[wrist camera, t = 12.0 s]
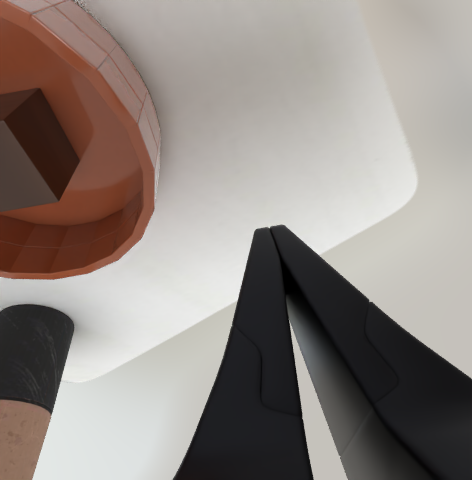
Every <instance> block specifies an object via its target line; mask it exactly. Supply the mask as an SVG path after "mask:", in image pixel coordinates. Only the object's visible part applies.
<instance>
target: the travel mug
mask: <svg viewBox="0 0 472 480" xmlns="http://www.w3.org/2000/svg"><path fill="white" fill-rule="evenodd" d="M73 331H74V324H73V322H72V320H71V319H70V318H69V317H68V316H66V315H65V314H63V313H61V312H59V311H57V310H54V309H51V308H48V307H44V306H37V305H17V306H12V307H9V308H6V309H4V310H2V311H1V312H0V480H32V478H33V474H34V472H35V468H36V465H37V462H38V458H39V455H40V452H41V449H42V445H43V442H44V439H45V435H46V432H47V429H48V426H49V422H50V419H51V415H52V412H53V408H54V404H55V401H56V397H57V393H58V389H59V385H60V382H61V378H62V374H63V370H64V366H65V363H66V359H67V355H68V351H69V347H70V344H71V340H72V336H73Z"/></svg>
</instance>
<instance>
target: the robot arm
mask: <svg viewBox="0 0 472 480" xmlns="http://www.w3.org/2000/svg"><path fill="white" fill-rule="evenodd" d="M289 320H290V323H291V325H292V328H293V331H294V333H295V336H296V339H297V342H298V344H299V347H300V350H301V353H302V355H303V358H304V361H305V363H306V366H307V369H308V371H309V374H310V377H311V380H312V382H313V385H314V388H315V391H316V393H317V396H318V399H319V402H320V404H321V407H322V410H323V413H324V415H325V418H326V421H327V423H328V426H329V429H330V432H331V434H332V437H333V440H334V443H335V445H336V448H337V451H338V453H339V455H340V456H341V457H340V459H341V462H342V465H343V467H344V470H345V473H346V476H347V478H348V480H472V379H471V378H470V377H469V376H467V375H466V374H464V373H463V372H462V371H460V370H459V369H458V368H456V367H455V366H453V365H452V364H451V363H449V362H448V361H446V360H445V359H444V358H442V357H441V356H439V355H438V354H437V353H435V352H434V351H433V350H431V349H430V348H428V347H427V346H426V345H424V344H423V343H422V342H420V341H419V340H418V339H416V338H415V337H414V336H412V335H411V334H410V333H409V332H407V331H406V330H405V329H403V328H402V327H400V325H398V324H397V323H396V322H395V321H393V320H392V319H391V318H390V317H389V316H388V315H386V314H385V313H384V312H383V311H382V310H380V309H379V308H378V307H377V306H376V305H375V304H374V303H373V302H369V299H368V298H367V297H366V296H364V295H363V294H362V293H361V292H360V291H359V290H357V289H356V288H355V287H354V286H353V285H352V284H350V282H348V281H347V280H346V279H345V278H344V277H343V276H342V275H340V274H339V273H338V272H337V271H336V270H335V269H334V268H333V267H331V266H330V265H329V264H328V263H327V262H326V261H325V260H323V259H322V258H321V257H320V256H319V255H318V254H317V253H315V252H314V251H313V250H312V249H311V248H310V247H309V246H307V245H306V244H305V243H304V242H303V241H302V240H301V239H299V238H298V237H297V236H296V235H295V234H294V233H293V232H291V231H290V230H289V229H288V228H287V227H286V226H285V225H277V226H272V227H270V229H269V228H268V227H265V228H260V229H256V230H255V232H254V236H253V240H252V244H251V248H250V252H249V256H248V260H247V265H246V269H245V273H244V277H243V281H242V285H241V289H240V293H239V297H238V302H237V306H236V310H235V314H234V318H233V322H232V327H231V330H230V334H229V338H228V342H227V345H226V349H225V352H224V356H223V359H222V362H221V365H220V368H219V371H218V374H217V377H216V380H215V382H214V385H213V387H212V390H211V392H210V395H209V398H208V400H207V403H206V405H205V408H204V411H203V413H202V416H201V418H200V421H199V423H198V426H197V429H196V431H195V434H194V436H193V439H192V441H191V443H190V446H189V448H188V450H187V453H186V455H185V457H184V459H183V461H182V463H181V465H180V467H179V469H178V471H177V473H176V475H175V476H174V478H173V480H314V479H313V474H312V469H311V464H310V459H309V454H308V448H307V442H306V436H305V430H304V423H303V419H302V409H301V401H300V395H299V387H298V380H297V373H296V366H295V359H294V353H293V345H292V338H291V330H290V323H289Z"/></svg>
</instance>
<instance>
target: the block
mask: <svg viewBox="0 0 472 480" xmlns="http://www.w3.org/2000/svg"><path fill="white" fill-rule="evenodd" d="M79 162H80V160H79V158H78V156H77V154H76V152H75V151H74V149H73V147H72V145H71V143H70V142H69V140H68V138H67V136H66V134H65V132H64V131H63V129H62V127H61V125H60V123H59V122H58V120H57V118H56V116H55V114H54V112H53V111H52V109H51V107H50V105H49V103H48V102H47V100H46V98H45V96H44V94H43V93H42V91H41V89H40V88H35V89H29V90H23V91H18V92H12V93H6V94H0V212H4V211H10V210H16V209H21V208H27V207H33V206H38V205H44V204H50V203H56V202H59V201H60V199H61V197H62V195H63V193H64V191H65V189H66V187H67V185H68V184H69V182H70V180H71V178H72V176H73V174H74V172H75V170H76V168H77V166H78V164H79Z"/></svg>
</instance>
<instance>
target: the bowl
mask: <svg viewBox="0 0 472 480" xmlns="http://www.w3.org/2000/svg"><path fill="white" fill-rule="evenodd" d="M35 88H40V89H41V91H42V93H43V94H44V96H45V98H46V100H47V102H48V103H49V105H50V107H51V109H52V111H53V112H54V114H55V116H56V118H57V120H58V122H59V123H60V125H61V127H62V129H63V131H64V132H65V134H66V136H67V138H68V140H69V142H70V143H71V145H72V147H73V149H74V151H75V152H76V154H77V156H78V158H79V160H80V162H79V164H78V166H77V168H76V170H75V172H74V174H73V176H72V178H71V180H70V182H69V184H68V185H67V187H66V189H65V191H64V193H63V195H62V197H61V199H60V201H59V202H56V203H50V204H44V205H38V206H33V207H27V208H21V209H16V210H10V211H4V212H0V277H4V278H11V279H50V280H51V279H53V280H54V279H59V278H65V277H71V276H76V275H82V274H88V273H91V272H93V271H95V270H97V269H99V268H102V267H104V266H106V265H108V264H111V263H113V262H115V261H117V260H119V259H120V258H121V257H122V256H123V255H124V254H125V253H126V252H127V251H129V250H130V249H131V248H132V247H133V246H134V245H135V244H136V243H137V242H138V241H139V240H140V239H141V238H142V236H143V234H144V232H145V230H146V227H147V225H148V223H149V221H150V218H151V216H152V214H153V212H154V209H155V201H156V194H157V186H158V178H159V170H160V149H161V132H160V128H159V123H158V119H157V115H156V110H155V107H154V105H153V102H152V99H151V97H150V94H149V91H148V89H147V87H146V85H145V84H144V82H143V80H142V78H141V76H140V74H139V72H138V71H137V69H136V68H135V66H134V65H133V63H132V62H131V60H130V58H129V57H128V55H127V54H126V53H125V52H124V50H123V49H122V48H121V47H120V45H119V44H118V43H117V42H116V41H115V39H114V38H113V37H112V36H111V35H110V34H109V33H108V32H107V31H106V30H105V29H104V28H103V27H102V26H101V25H100V24H99V23H98V22H97V21H96V20H95V19H94V18H93V17H92V16H91V15H90V14H88V13H87V12H86V11H85V10H83V9H82V8H81V7H80V6H78V5H77V4H76V3H75V2H74V1H72V0H0V94H6V93H12V92H18V91H23V90H29V89H35Z"/></svg>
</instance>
